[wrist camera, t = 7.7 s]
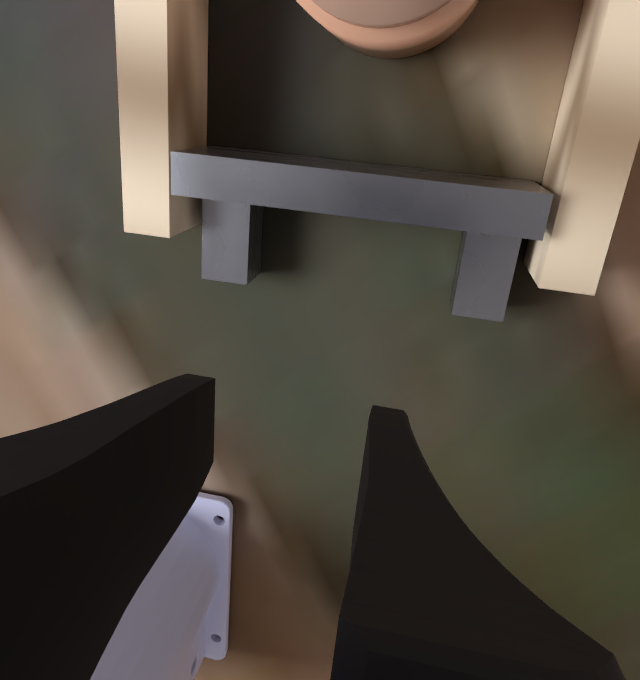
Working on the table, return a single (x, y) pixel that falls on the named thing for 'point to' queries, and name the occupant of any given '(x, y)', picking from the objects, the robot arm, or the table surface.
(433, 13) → the terracotta jar
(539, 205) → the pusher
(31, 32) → the table surface
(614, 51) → the beige flat open box
